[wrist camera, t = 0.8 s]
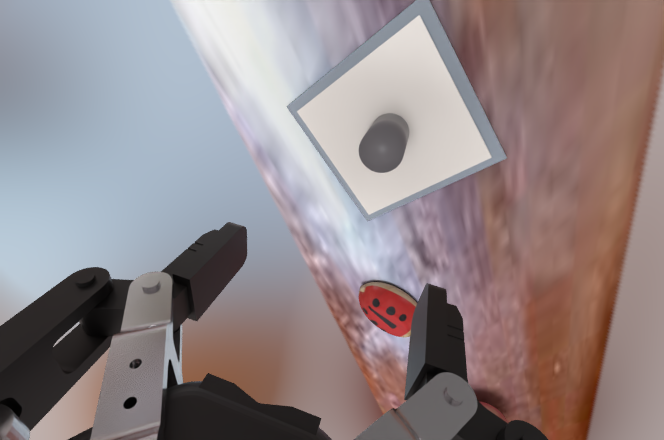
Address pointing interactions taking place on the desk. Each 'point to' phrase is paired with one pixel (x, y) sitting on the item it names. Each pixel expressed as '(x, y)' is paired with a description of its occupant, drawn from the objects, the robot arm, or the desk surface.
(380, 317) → the ladybug figurine
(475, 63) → the desk surface
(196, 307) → the robot arm
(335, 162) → the lid
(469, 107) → the mat
